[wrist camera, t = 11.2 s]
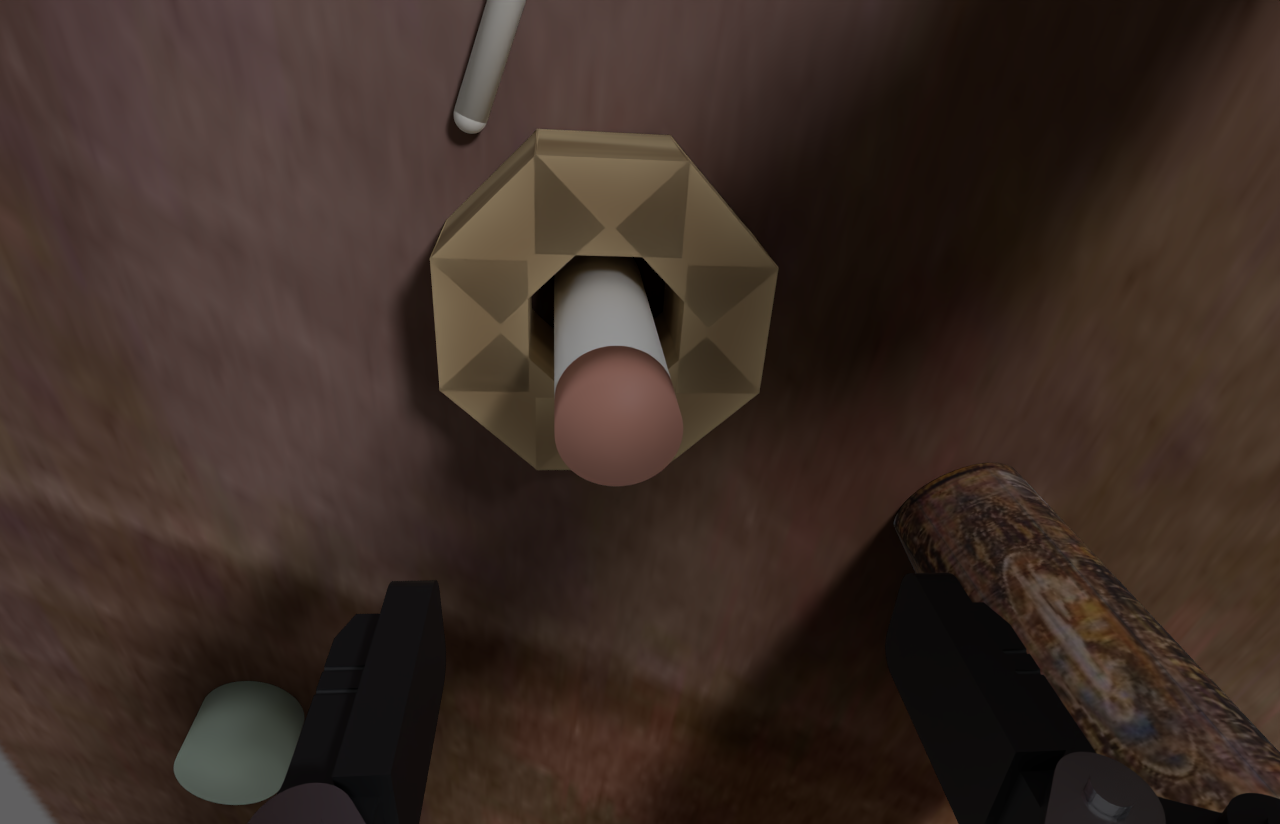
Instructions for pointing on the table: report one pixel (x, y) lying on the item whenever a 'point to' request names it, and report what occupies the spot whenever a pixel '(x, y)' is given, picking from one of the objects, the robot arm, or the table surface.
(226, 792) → the bead
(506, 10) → the thin white rod
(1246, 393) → the table surface
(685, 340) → the bead
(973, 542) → the book
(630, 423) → the grey cylinder
